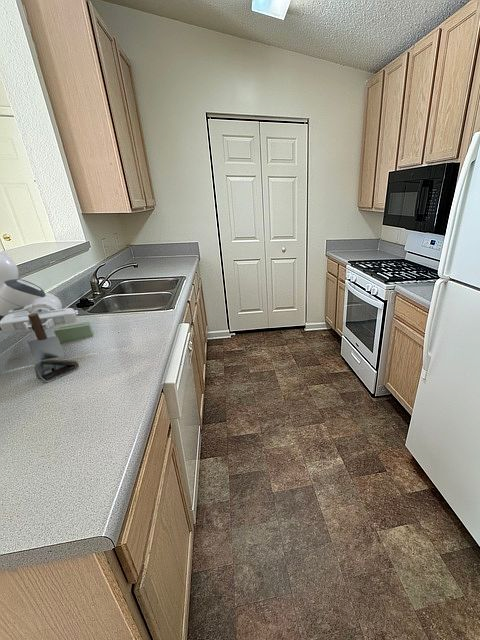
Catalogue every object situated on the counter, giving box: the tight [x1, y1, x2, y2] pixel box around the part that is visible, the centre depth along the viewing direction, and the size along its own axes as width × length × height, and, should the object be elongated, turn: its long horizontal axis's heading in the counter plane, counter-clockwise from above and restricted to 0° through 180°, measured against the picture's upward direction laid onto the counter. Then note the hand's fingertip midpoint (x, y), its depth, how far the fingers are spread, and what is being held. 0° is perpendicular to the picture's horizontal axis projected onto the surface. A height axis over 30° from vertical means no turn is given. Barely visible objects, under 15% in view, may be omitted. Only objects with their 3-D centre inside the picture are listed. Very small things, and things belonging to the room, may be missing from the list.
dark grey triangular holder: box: [34, 359, 80, 383], centre depth 109 cm, size 10×7×12 cm
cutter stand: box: [53, 321, 94, 343], centre depth 135 cm, size 12×5×6 cm, turn 118°
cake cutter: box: [26, 313, 66, 362], centre depth 105 cm, size 8×3×15 cm, turn 118°
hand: (37, 327), depth 102 cm, fingers closed on cake cutter, 2 cm apart
